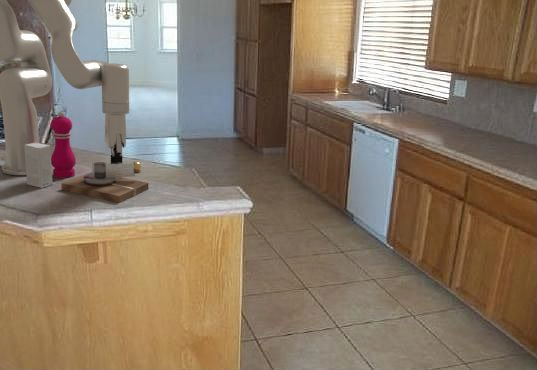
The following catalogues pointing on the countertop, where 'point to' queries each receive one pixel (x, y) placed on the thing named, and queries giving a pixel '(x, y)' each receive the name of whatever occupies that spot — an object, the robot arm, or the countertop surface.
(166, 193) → the countertop surface
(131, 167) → the dial
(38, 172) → the skincare box
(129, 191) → the walnut board
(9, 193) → the countertop surface
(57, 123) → the pepper mill
